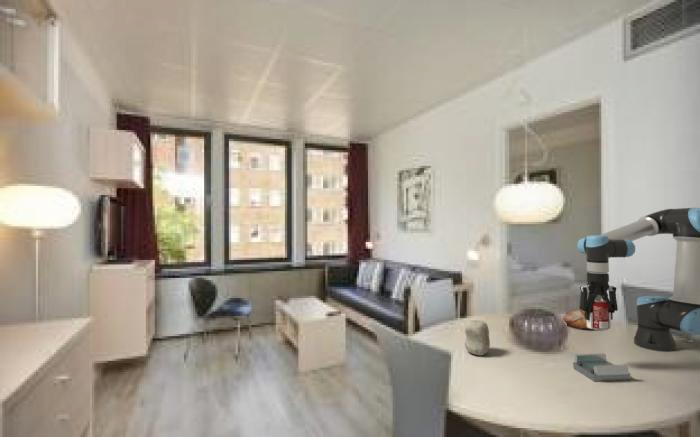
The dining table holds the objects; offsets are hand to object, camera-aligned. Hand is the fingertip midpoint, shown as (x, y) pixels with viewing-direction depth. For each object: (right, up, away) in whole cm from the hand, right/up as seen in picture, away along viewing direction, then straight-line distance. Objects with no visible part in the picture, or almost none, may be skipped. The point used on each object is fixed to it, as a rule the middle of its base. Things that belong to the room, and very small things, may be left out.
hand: (598, 327), depth 147 cm
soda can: (0, -1, 0) cm, 1 cm away
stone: (-43, -18, +19) cm, 51 cm away
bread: (+28, -16, +53) cm, 62 cm away
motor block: (-4, -16, -7) cm, 18 cm away
